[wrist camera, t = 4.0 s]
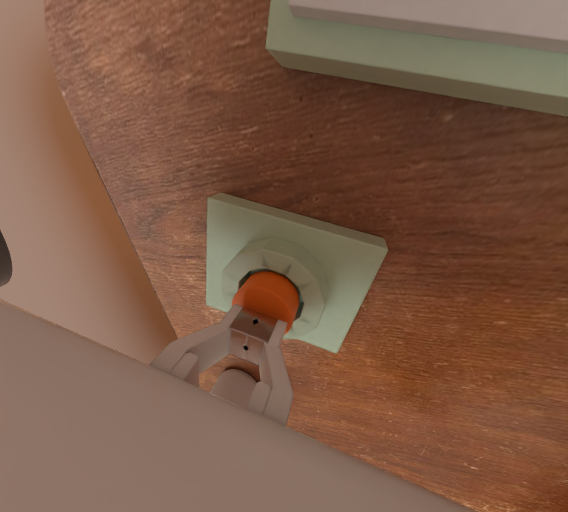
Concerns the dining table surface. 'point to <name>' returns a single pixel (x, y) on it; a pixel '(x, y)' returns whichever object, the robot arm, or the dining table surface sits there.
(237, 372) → the beverage can
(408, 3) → the scale
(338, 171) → the dining table surface
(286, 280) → the button
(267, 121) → the dining table surface
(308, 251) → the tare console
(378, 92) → the dining table surface
